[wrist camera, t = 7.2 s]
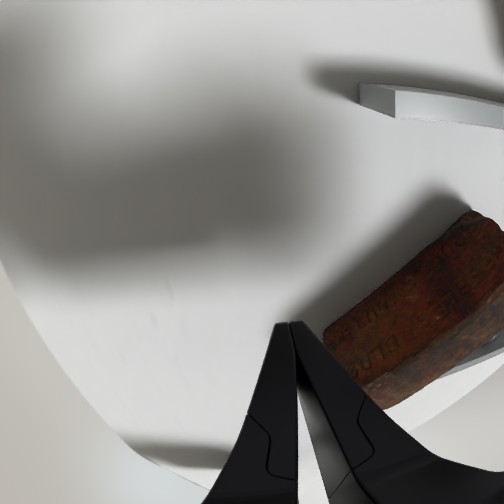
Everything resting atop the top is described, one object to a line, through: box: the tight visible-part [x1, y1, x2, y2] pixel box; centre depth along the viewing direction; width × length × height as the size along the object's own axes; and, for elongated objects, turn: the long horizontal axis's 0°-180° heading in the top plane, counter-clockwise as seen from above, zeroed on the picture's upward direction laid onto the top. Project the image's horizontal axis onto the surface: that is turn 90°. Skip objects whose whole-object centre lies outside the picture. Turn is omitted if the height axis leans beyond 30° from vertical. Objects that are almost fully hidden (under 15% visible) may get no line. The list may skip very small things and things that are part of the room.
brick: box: [323, 211, 504, 410], centre depth 13 cm, size 11×4×5 cm, turn 138°
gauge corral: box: [359, 83, 504, 379], centre depth 12 cm, size 16×15×3 cm
